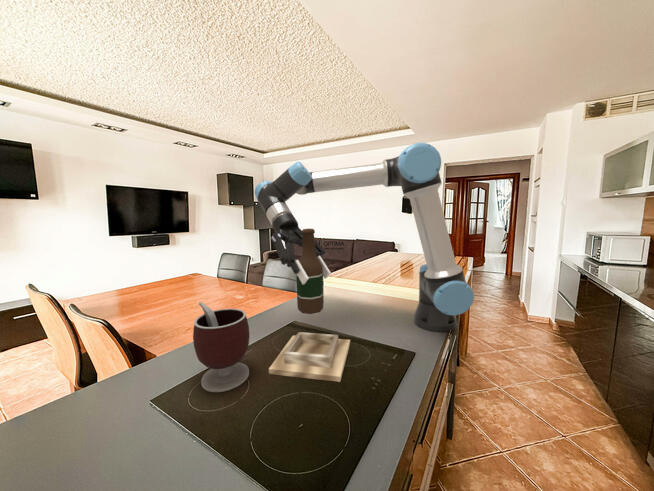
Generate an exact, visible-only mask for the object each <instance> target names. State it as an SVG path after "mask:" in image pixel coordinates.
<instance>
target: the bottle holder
mask: <svg viewBox="0 0 654 491" xmlns="http://www.w3.org/2000/svg"><path fill="white" fill-rule="evenodd" d="M350 346H351V339H346V338H345V339H344V338H339V334H329V333H328V334H327V333H317V332H316V333H315V332H305V331H304V332H302V331H299V332H297V334H296V335H292V336H291V337H290V339H289V340H288V342H287V343H286V344H285V345H284V347H283V348H282V350H281V351H280V353H279V354H278V355H277V357H276V358H275V359H274V361H273V362H272V364H271V365H270V366H269V367H268V374H269V375H276V376H284V377H293V378H302V379H311V380H319V381H329V382H338V383H341V381H342V378H343V377H342V376H343V373H344V369H345V366H346V362H347V357H348V354H349V350H350Z"/></svg>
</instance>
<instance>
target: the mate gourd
mask: <svg viewBox="0 0 654 491" xmlns="http://www.w3.org/2000/svg"><path fill="white" fill-rule="evenodd" d="M198 305H199V306H200V307H201V309H202V311H203V314H202V315H200V316H198V317H196V319H194V321H193V324H194V325H193V331H192V332H193V333H192V339H193V342H192V343H193V348H194V351H195V355H196V357H197V360H198V361H199V362H200V363H201V364H203V365H204V366H205V367H206V368H208V369H209V370H207V371H206V372H205V373H204V374H203V375H202V377H201V380H200V384H201V388H202V389H204V390H205V391H207V392H211V393H221V392H227V391H230V390H232V389H235V388H237V387H239V386H241V385H242V384H243V383H244V382H245V381H246V380H247V379H248V377H249V375H250V368H249V366H248V365H247V364H245V363H244V362H243V363H242V362H240V361H242V359H243V357H244V356H245V354H246V353H247V352H248V349H249V344H250V325H249V321H248V317H247V314H246V311H244V310H243V309H239V308H221V309H216V310H212V308H210V307H209V306H208V305H206V304H205V303H204V302H200V301H199V302H198Z"/></svg>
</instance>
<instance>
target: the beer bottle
mask: <svg viewBox="0 0 654 491" xmlns="http://www.w3.org/2000/svg"><path fill="white" fill-rule="evenodd" d="M301 230H302V234H303V245H302V247H301V249H302V250H301V251H302V252H301V256H300V259H298V261H299V262H300V264H301V266H302V268H303V269H304V271H305V273H306V274H307V276H308V278H309V279H308V280H307V282H306V283H305V284H302V283H301V281H300V279H299V277H298V275H297V274H295V278H296V279H295V280H296V281H295V282H296V300H297V310H298V311H299V312H300V313H301V314H307V315H313V314H314V315H315V314H317V313H321V311H322V310H323V309H324V277H323V269H322V265H321V262H320V261H319V259H318V258H317V256H316V251H315V240H316V239H315V233H316V232H315V229H314V228H303V229H301ZM314 239H315V240H314Z"/></svg>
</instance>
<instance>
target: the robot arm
mask: <svg viewBox="0 0 654 491" xmlns="http://www.w3.org/2000/svg"><path fill="white" fill-rule="evenodd" d="M441 167H442V158H441V155H440V152H439V151H438V149H437V148H436V147H435V146H433V145H431V144H430V143H428V142H415V143H413V144H411V145H409V146H407V147H406V148H404V149H403V150H402V151H401V153H400V154H399V155H398V156H396V157H395V156H394V157H392V158H388V159H384V160H382V162H381V163H373V164H372V163H371V164H363V165H355V166H349V167H342V168H341V167H340V168H333V169H326V170H318V171H310V172H309V170H308V169H307V168H306V167H305V166H304V164H303V163H302V162H301V161H295V163H293V164H292V165H290V166H289V167H288V168H287V169H286V170H285V171H284V172H283V173H281V175H279V176H278V177H277V178H275V180H273V181H272V180H271V181H270V180H264V181H262V182H259V183H258V184H257V185H256V186H255V188H254V195H255V198H256V200H257V203H258V205H260V206H259V207H261V208H262V210H263V212H264V214H265V216H266V217H267V220H268V221H269V223H270V225H271V226H272V229H273V230H274V233H272V234H273V235H272V236H271V238H270V241H271V242H272V244H274V247H275V250H276V252H277V255H278V257H279V261H280V263H281V265H283V266H286V267H288V268H290V269H291V270H292V272H293V273H294V274H295V275H296V274H297V275H298V277H299V279H300V281H301V283H302V284H305V283H306V282H307V280H308V279H309V278H308V276H307V274H306V273H305V271H304V269H303V268H302V266H301V264H300V262H299V259H296V258H295V250H294V249H295V248H294V245H297V246H298V247H299V248H302V245H303V234H302V230H303V229H301V228H300V227H299V222H298V220H297V219H296V218H295V216H294V215H293V213H292V211H291V210H290V208H289V206H288V204H287V203H286V202H287V201H288V200H290V199H291V197H293V196H294V195H296V194H297V195H300V196H303V195H307V194H313V193H320V192H321V193H323V192H330V191H338V190H339V191H340V190H346V189H347V190H348V189H354V188H365V187H373V186H374V187H375V186H381V185H383V186H384V187H386V188H390V187H401V191H402V194H403V196H404V197H407V198H408V199H409V201H410V206H411V210H412V213H413V217H414V221H415V225H416V228H417V233H418V237H419V240H420V244H421V248H422V251H423V255H424V261H425V262H426V264H425V263H424V264H422V265H420V267H419V272H418V274H419V278H418V280H419V283H418V285H419V286H418V291H419V292H418V304H417V307H416V309H415V312H414V315H413V323H414V325H416V326H418V327H419V328H421V329H423V330H428V331H431V332H440V333H441V332H442V333H443V332H451V331H454V330H455V329H456V328H457V318H456V316H458V315H459V316H460V315H463V314H464V313H466V312H468V310H470V308H471V306H472V305H473V303H474V300H475V292H474V290H473V289H472V287H471V285H470V284H469V283H468V282H467V281H466V277H465V273H464V270H463V267H462V266H461V265H460V264H457V262H456V260H455V254H454V251H453V246H452V243H451V238H450V234H449V231H448V225H447V222H446V218H445V214H444V210H443V206H442V201H441V198H440V193H439V189H440V187H441V185H442V184H443V182H442V178H441V174H440V171H441ZM314 240H315V251H316V256H317V258H318V259H319V261H320V262H321V265H322V269H323V279H324V280H325V279H327V278H328V277H329V276H330V275H331V273H332V272H331V270H330V268H328V265H327V263H326V261H325V259H324V258H323V257H324V255H325V254H326V251H325V249H324V248H323V247H322V245H320V243H319V242H318V241H317V240H316V239H315V238H314ZM283 242H284V243H283Z"/></svg>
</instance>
